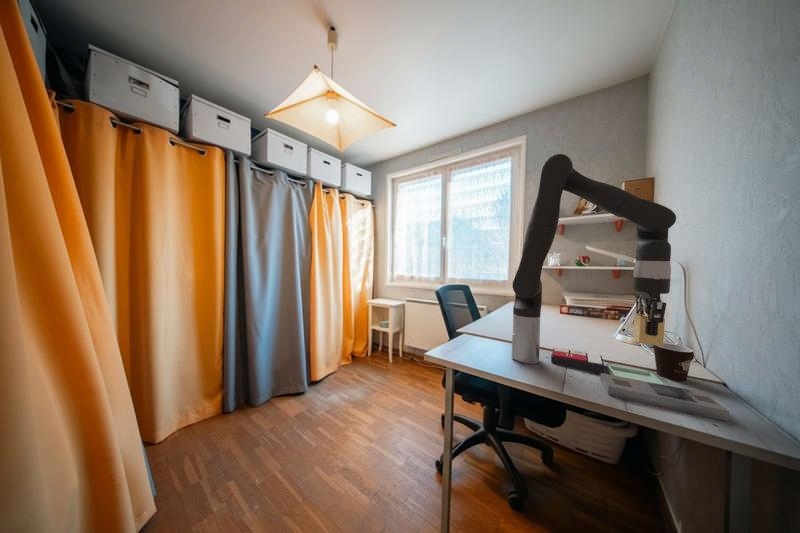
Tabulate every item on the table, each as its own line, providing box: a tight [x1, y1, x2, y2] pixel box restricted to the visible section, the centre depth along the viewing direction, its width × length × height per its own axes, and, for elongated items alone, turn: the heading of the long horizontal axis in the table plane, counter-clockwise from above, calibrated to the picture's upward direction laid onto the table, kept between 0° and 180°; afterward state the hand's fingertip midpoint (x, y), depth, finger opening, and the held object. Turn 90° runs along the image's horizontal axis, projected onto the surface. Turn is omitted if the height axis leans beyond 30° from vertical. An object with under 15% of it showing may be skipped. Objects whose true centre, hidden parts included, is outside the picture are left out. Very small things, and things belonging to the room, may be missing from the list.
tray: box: [606, 364, 666, 385], centre depth 75 cm, size 11×11×2 cm
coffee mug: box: [652, 342, 695, 383], centre depth 77 cm, size 12×9×10 cm
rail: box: [599, 373, 730, 422], centre depth 65 cm, size 22×9×3 cm, turn 61°
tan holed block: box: [632, 312, 666, 347], centre depth 70 cm, size 5×5×8 cm
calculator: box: [550, 346, 606, 375], centre depth 87 cm, size 11×4×15 cm
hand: (647, 332), depth 70 cm, fingers closed on tan holed block, 5 cm apart
